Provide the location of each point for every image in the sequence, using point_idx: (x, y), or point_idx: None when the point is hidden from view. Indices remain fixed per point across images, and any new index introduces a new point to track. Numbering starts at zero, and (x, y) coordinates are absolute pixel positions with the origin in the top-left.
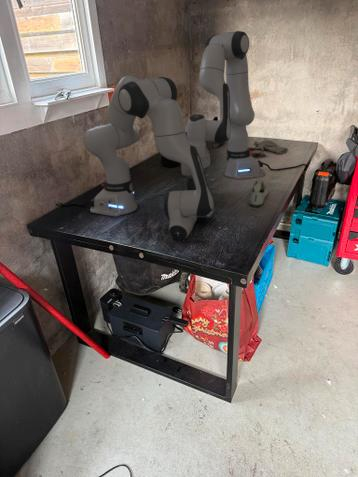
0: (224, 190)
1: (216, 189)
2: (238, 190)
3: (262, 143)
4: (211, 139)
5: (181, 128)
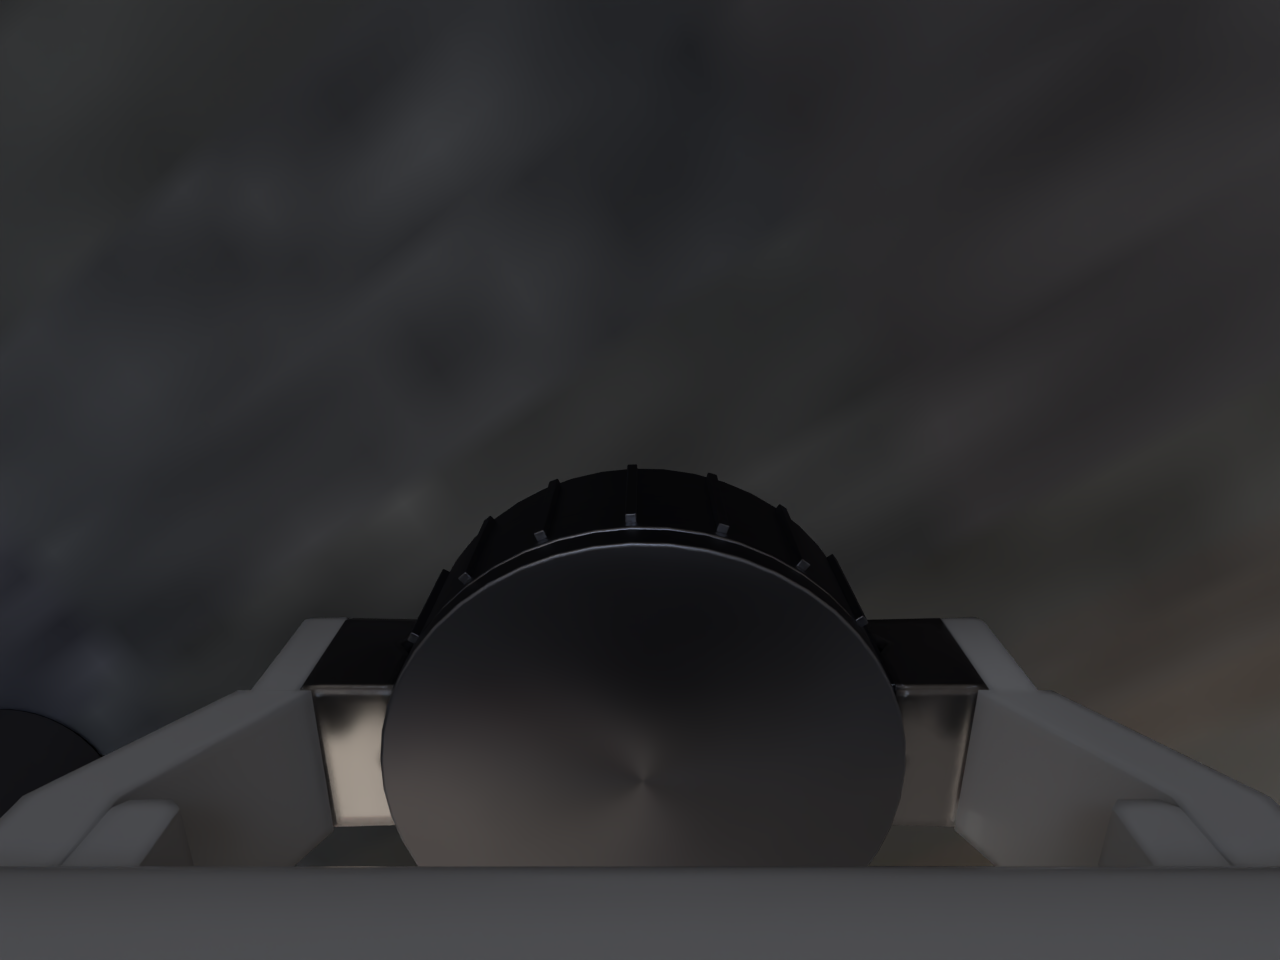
0: None
1: (1166, 620)
2: None
3: None
4: None
5: None
